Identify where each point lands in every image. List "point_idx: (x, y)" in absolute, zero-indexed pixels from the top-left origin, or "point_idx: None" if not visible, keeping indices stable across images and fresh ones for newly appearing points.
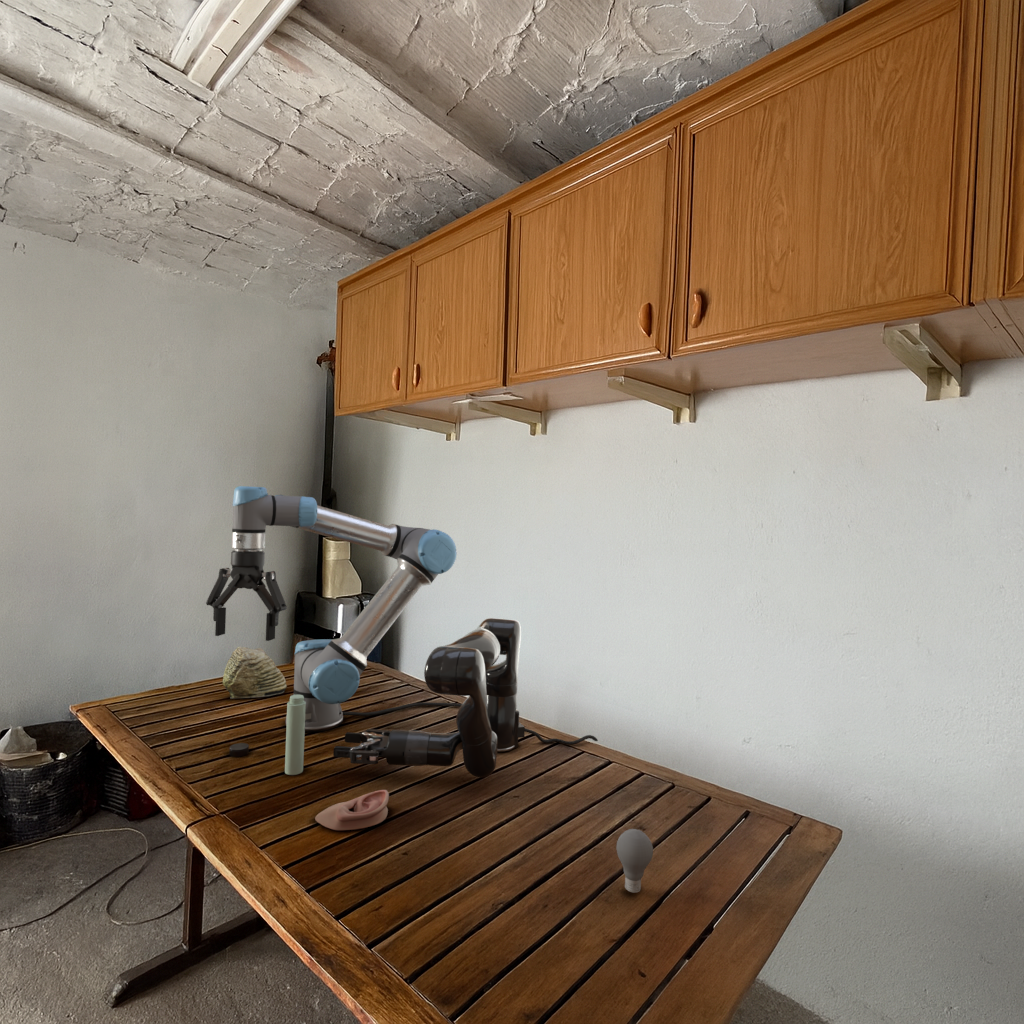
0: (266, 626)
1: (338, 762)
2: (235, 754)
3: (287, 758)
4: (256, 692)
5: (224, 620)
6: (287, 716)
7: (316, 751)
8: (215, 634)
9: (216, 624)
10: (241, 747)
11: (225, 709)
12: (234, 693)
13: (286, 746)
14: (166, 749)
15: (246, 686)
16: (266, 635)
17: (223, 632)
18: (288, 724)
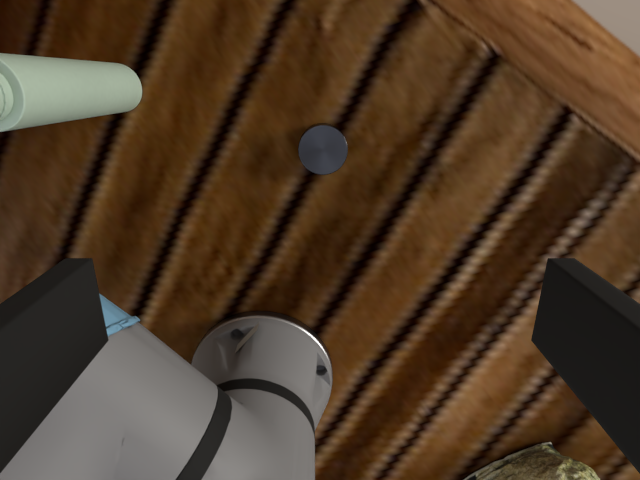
0: (4, 320)
1: (55, 174)
2: (317, 124)
3: (102, 62)
4: (495, 474)
5: (604, 410)
6: (35, 62)
7: (148, 218)
8: (578, 262)
9: (632, 305)
10: (313, 145)
11: (523, 382)
12: (544, 451)
13: (94, 65)
14: (522, 112)
15: (523, 475)
16: (62, 278)
17: (542, 330)
18: (44, 59)
